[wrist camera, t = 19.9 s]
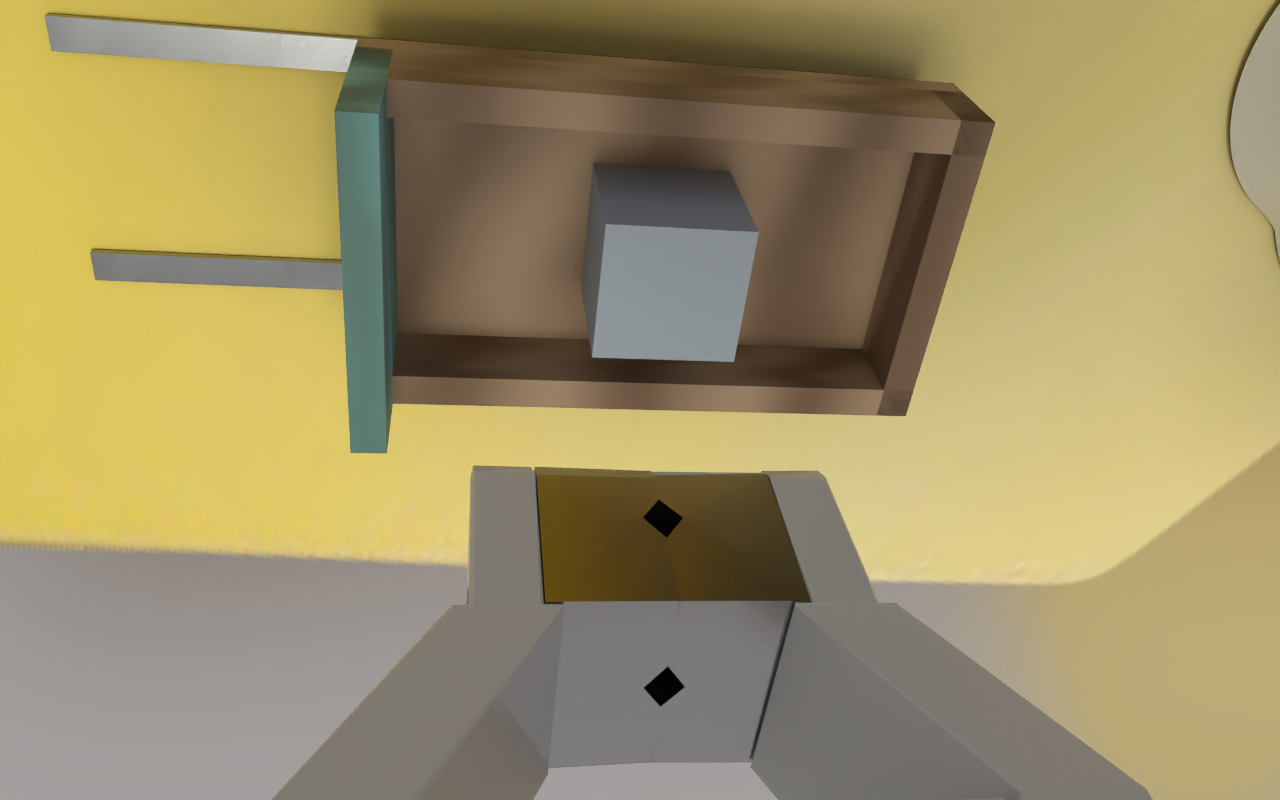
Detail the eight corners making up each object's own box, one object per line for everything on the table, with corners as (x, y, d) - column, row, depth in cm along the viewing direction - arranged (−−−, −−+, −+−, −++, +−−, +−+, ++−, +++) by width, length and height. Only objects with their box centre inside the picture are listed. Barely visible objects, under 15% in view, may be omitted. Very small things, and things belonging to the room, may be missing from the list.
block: (730, 171, 39) (759, 232, 35) (709, 292, 42) (733, 362, 38) (592, 162, 38) (605, 224, 34) (581, 286, 41) (591, 357, 37)
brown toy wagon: (929, 61, 41) (1032, 157, 34) (858, 331, 48) (931, 462, 40) (365, 16, 38) (334, 111, 30) (373, 312, 45) (350, 452, 37)
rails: (902, 79, 42) (905, 81, 42) (845, 307, 48) (847, 310, 47) (47, 13, 37) (44, 15, 37) (97, 276, 43) (95, 279, 43)
